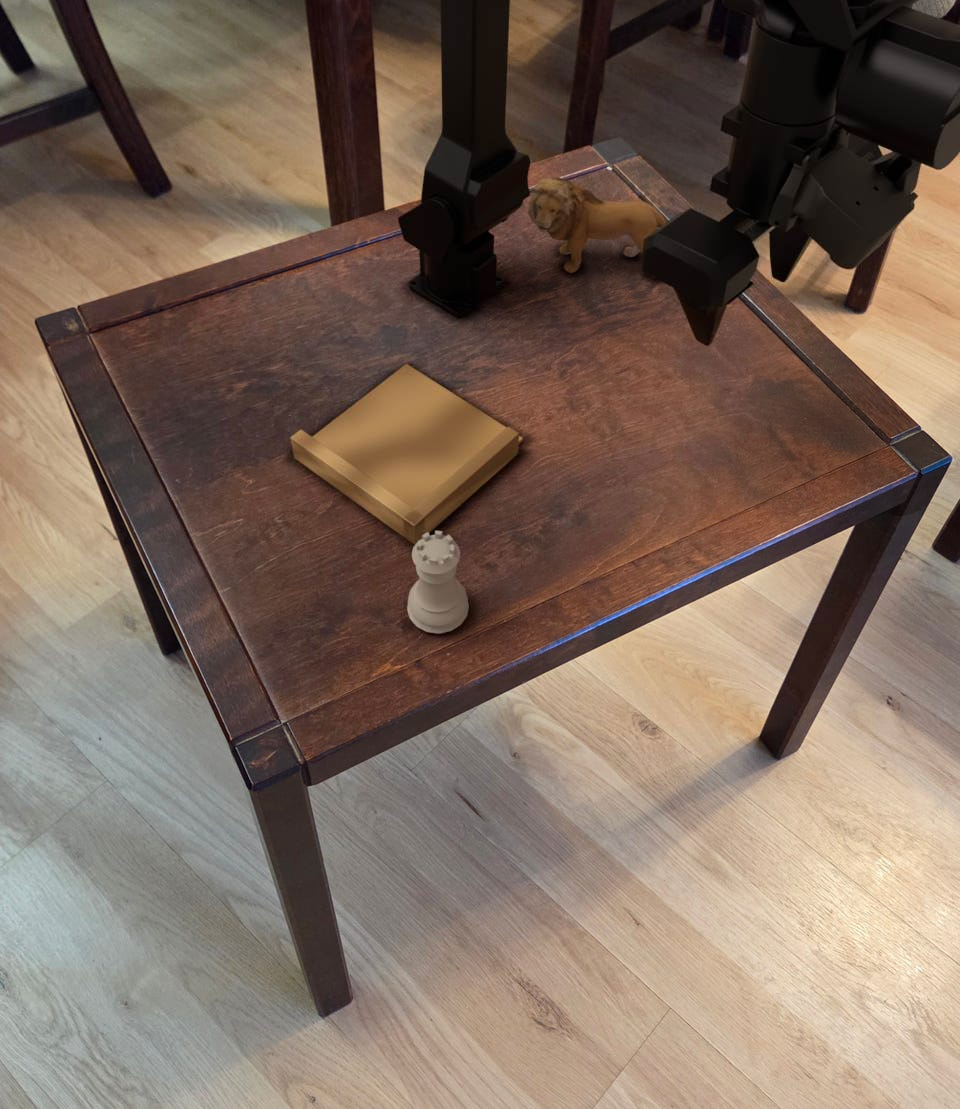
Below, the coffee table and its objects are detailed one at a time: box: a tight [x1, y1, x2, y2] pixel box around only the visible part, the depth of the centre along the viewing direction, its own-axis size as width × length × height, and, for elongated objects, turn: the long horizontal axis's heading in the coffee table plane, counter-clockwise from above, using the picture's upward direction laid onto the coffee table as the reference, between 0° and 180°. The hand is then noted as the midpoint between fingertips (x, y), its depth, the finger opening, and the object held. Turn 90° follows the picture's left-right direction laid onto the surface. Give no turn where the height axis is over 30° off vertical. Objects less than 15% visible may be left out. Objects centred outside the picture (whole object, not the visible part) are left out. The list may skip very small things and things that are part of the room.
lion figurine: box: [527, 177, 667, 280], centre depth 96 cm, size 15×5×9 cm, turn 92°
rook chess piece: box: [406, 530, 470, 634], centre depth 73 cm, size 4×4×8 cm
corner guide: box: [290, 363, 524, 546], centre depth 84 cm, size 14×14×2 cm
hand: (742, 310), depth 74 cm, fingers open, 9 cm apart
